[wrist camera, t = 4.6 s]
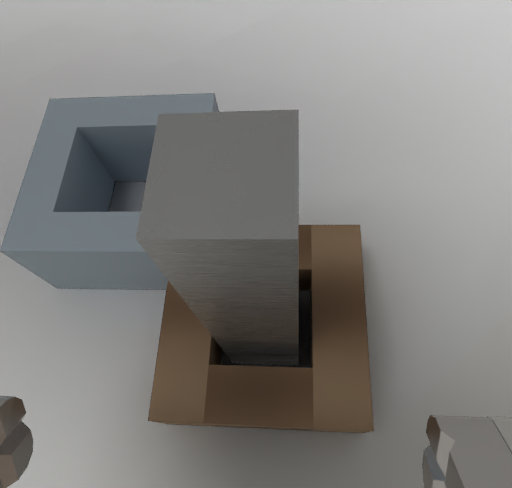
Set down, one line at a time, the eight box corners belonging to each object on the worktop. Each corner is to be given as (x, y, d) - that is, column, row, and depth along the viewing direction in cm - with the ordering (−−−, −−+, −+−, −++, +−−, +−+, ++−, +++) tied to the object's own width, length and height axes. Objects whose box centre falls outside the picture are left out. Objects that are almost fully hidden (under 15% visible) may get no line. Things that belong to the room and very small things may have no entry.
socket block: (363, 433, 19) (373, 430, 16) (168, 424, 20) (147, 420, 17) (352, 250, 23) (359, 224, 20) (189, 250, 24) (175, 225, 21)
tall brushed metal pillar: (298, 364, 21) (298, 239, 8) (233, 362, 21) (135, 238, 8) (298, 301, 22) (298, 109, 9) (237, 300, 22) (158, 113, 10)
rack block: (216, 290, 23) (196, 251, 18) (56, 288, 24) (-1, 251, 19) (228, 153, 27) (214, 93, 22) (90, 155, 27) (49, 98, 23)
